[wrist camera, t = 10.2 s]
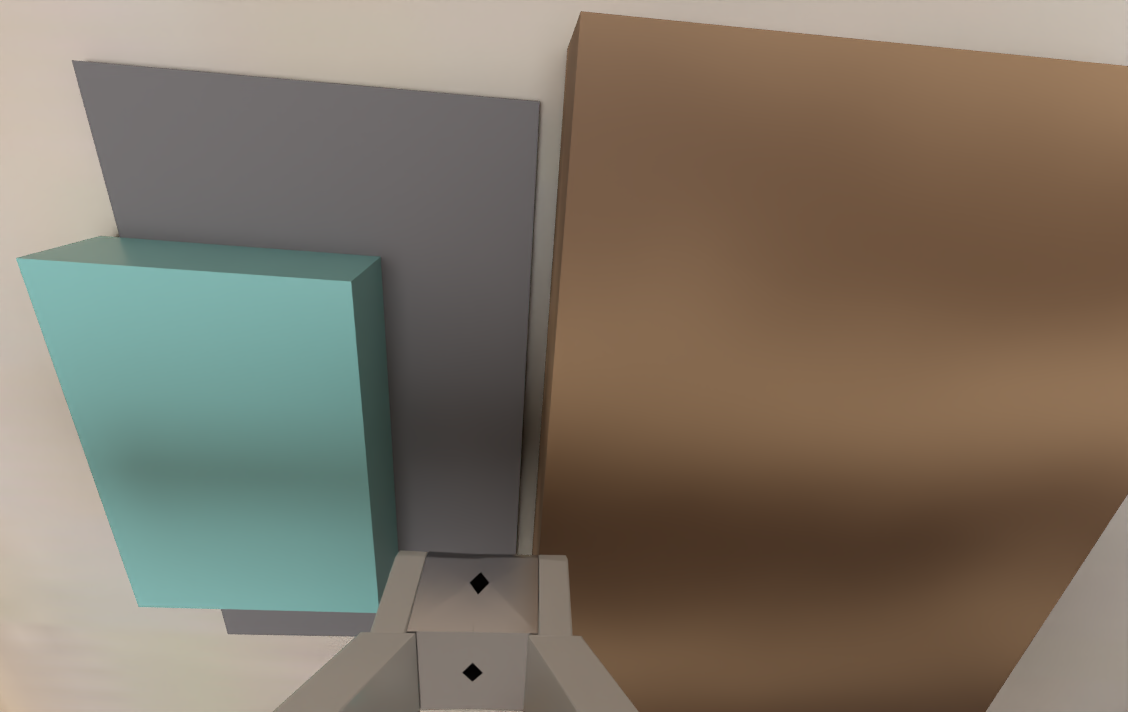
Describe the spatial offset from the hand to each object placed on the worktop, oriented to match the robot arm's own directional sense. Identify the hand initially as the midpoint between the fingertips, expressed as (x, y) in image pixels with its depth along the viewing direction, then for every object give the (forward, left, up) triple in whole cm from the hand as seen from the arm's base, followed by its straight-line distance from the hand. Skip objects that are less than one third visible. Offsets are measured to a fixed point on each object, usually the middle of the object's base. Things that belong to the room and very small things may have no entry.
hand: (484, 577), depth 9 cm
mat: (0, +4, -5) cm, 6 cm away
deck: (0, -7, -5) cm, 9 cm away
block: (0, +6, -3) cm, 7 cm away
